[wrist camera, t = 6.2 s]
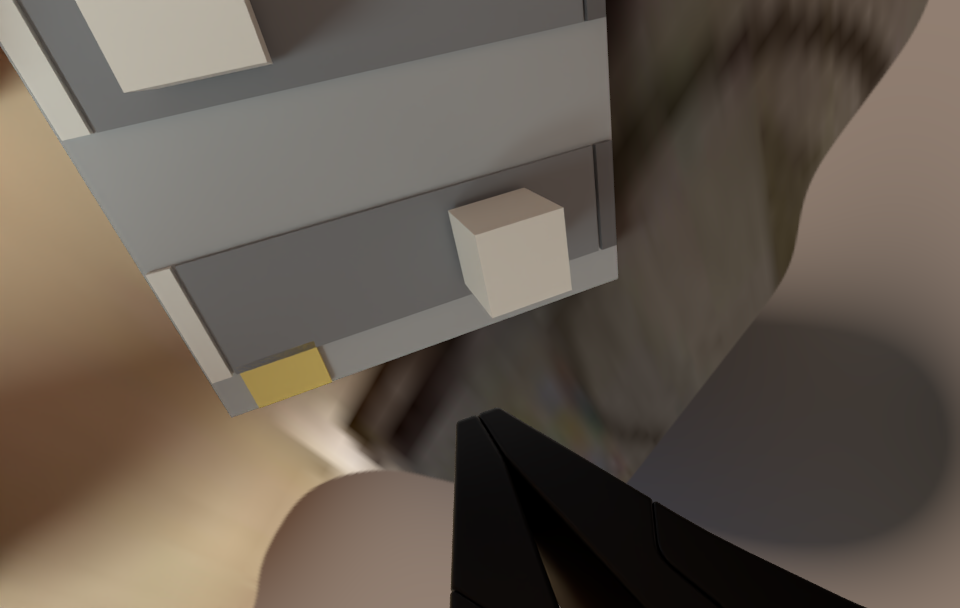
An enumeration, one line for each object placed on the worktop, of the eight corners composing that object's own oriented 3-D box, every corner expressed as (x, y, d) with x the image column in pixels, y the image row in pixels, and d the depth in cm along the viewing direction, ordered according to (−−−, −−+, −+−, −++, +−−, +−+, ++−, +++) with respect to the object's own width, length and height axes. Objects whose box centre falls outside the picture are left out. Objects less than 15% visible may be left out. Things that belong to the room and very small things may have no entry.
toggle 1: (272, 63, 13) (267, 62, 11) (159, 88, 12) (123, 92, 10) (223, -70, 12) (203, -109, 9) (91, -49, 11) (29, -85, 8)
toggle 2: (534, 260, 19) (571, 289, 16) (464, 283, 18) (492, 318, 16) (524, 187, 17) (563, 207, 15) (447, 210, 17) (475, 235, 14)
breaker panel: (589, 259, 23) (621, 280, 21) (238, 380, 20) (230, 421, 18) (554, -176, 15) (600, -221, 13) (-41, -100, 12) (-121, -140, 10)
